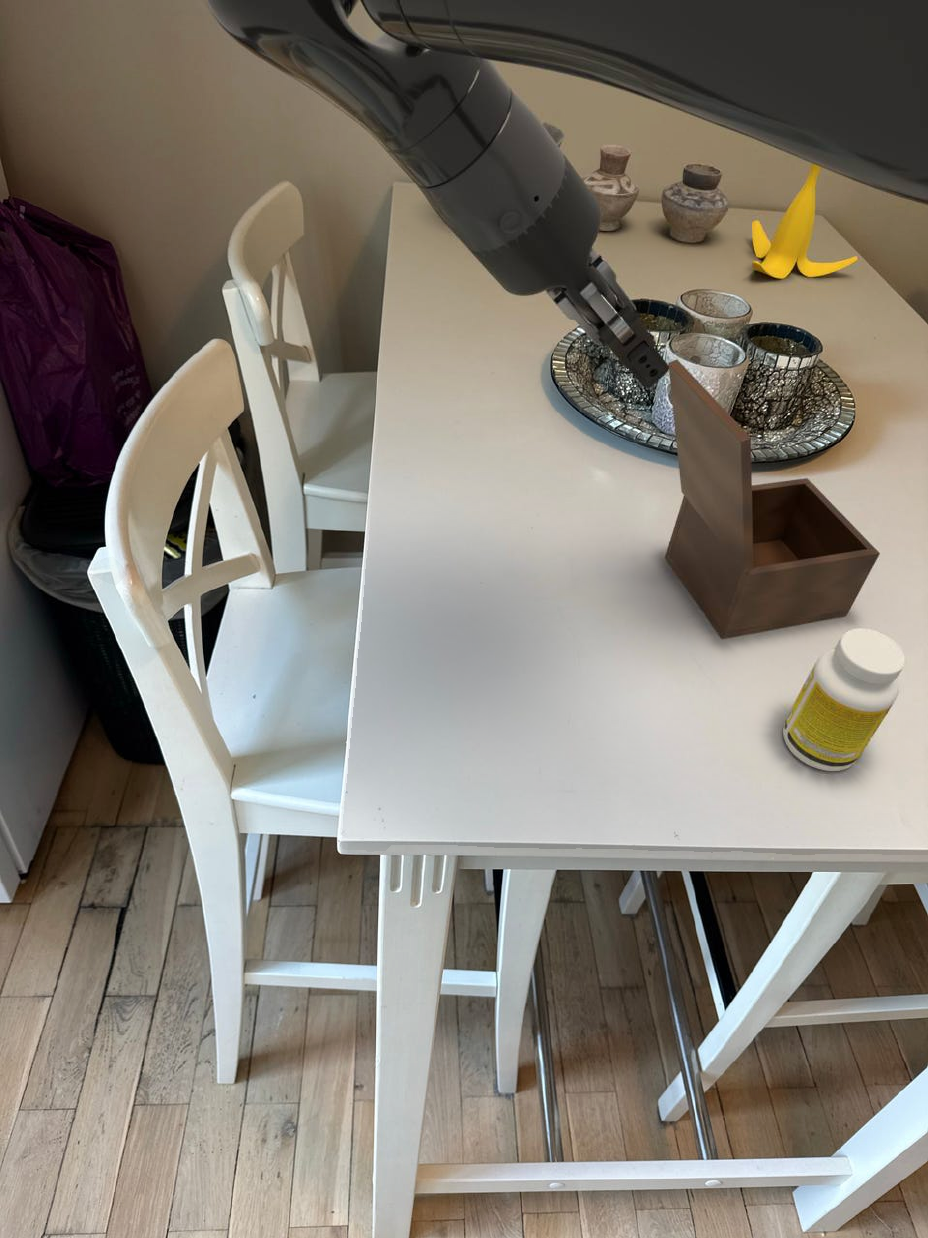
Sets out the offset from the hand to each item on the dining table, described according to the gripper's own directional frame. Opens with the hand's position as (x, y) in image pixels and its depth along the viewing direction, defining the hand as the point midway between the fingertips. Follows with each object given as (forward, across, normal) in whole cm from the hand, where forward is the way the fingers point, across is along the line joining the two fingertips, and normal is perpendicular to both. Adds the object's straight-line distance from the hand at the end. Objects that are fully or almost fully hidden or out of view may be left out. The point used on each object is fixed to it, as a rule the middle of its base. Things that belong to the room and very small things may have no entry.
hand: (647, 367), depth 63 cm
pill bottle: (+27, -18, +9) cm, 34 cm away
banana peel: (+62, +67, -26) cm, 95 cm away
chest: (+30, 0, +5) cm, 31 cm away
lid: (+13, 0, +1) cm, 13 cm away
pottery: (+51, +85, -16) cm, 101 cm away
